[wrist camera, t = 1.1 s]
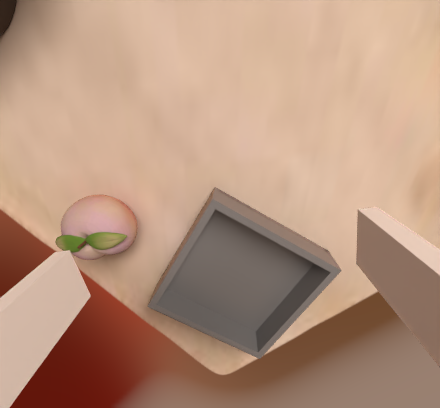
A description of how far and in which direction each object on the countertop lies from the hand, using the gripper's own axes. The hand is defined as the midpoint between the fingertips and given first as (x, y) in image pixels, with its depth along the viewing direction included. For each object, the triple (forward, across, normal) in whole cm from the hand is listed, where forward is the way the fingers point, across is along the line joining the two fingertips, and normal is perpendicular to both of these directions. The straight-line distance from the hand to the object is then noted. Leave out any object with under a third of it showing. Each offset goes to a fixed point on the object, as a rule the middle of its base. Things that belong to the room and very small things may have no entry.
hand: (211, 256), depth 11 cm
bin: (+24, -1, -18) cm, 30 cm away
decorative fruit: (+24, -17, -5) cm, 30 cm away
